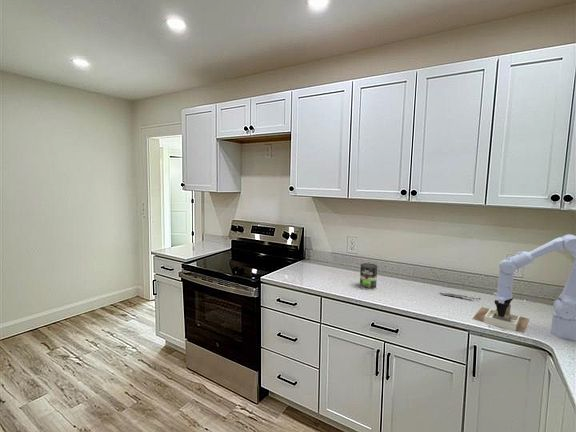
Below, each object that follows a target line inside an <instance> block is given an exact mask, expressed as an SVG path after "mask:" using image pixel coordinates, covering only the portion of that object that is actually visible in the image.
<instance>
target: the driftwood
mask: <svg viewBox="0 0 576 432" xmlns="http://www.w3.org/2000/svg"><path fill="white" fill-rule="evenodd" d="M443 295H444V296H448V297H449V296H451V297H454V298H461V299H464V300H469V301H472V302H474V300H478V299H479V301H481V297H479V298H476V297H472V296H468V295H462V294H455V293H449V292H447V293H444V292H440V296H443ZM468 298H469V299H468Z"/></svg>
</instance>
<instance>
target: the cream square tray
mask: <svg viewBox="0 0 576 432" xmlns="http://www.w3.org/2000/svg"><path fill="white" fill-rule="evenodd" d="M488 309H489V311H488V312H487V314H486V315H485V318H484V322H483V323H485V324H488V323H489V324H488V325H492V326H496V327H499V326H500V328H502V329H507V330H510V329H511V330H510V331H514V332H517V331H516V329H517V327H518V324H519V322H520V317H521V316H520V315H518V314H513V313H510V319H505V318H501V317H497V316H496V309H494V308H488Z"/></svg>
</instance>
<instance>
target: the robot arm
mask: <svg viewBox="0 0 576 432" xmlns="http://www.w3.org/2000/svg"><path fill="white" fill-rule="evenodd" d="M565 250H566V251H568V252H569V253H570V254H571V255H572V257H573V258H574V260H573V264H572V266H571V269H570V271H569V273H568V277H567V279H566V282H565V285H564V287H563V290H562V292H561V293H560V294H559V295H558V298H557V299H555V300H554V302H553V303H552V304H553V307H554V309H555V311H553V313H552V318H551V328H550V334H551V335H553V336H555V337H557V338H560V339H566V340H570V341H574V342H576V235H575V234H571V233H569V234H565V235H563V236H561V237H560V236H559V237H556V238H554V239H553V240H550V241H548V242H546V243H544V244H542V245H540V246H538V247H536V248H535V249H532V250H531V251H520V250H519V251H518V252H517V254H516V255H513V256H511V257H510V256H508V257H507V258H506V259H503V260H501V261H500V262H499V264H498V267H499V272H498V279H497V287H496V288H497V290H496V292H493V295H494V296H496V297H497V298H498V300H497V299H495V300H494V304H495V306H496V309H497V312H498V316H500V317H504V316H505V312H506V309H507V307H508V306H509V305H511V302H512V301H513V300H514V297H513V290H514V289H513V288H514V280H515V279H514V278H515V277H514V274H515V273H516V270H519V269H522V268H524V267H526V266H528V265H530V264H532V263H534V260H535V259H537V258H539V257H542V256H544V255H546V254H549V253H552V252H554V251H556V252H558V251H559V252H565Z"/></svg>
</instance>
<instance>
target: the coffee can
mask: <svg viewBox="0 0 576 432" xmlns="http://www.w3.org/2000/svg"><path fill="white" fill-rule="evenodd" d="M359 269H360V272H359V274H360V275H359V276H360V277H359V288H361V289H362V290H365V291H366V290H368V291H373V290H374V291H375V290H376V289H377V282H378V281H377V280H378V265H377V264H374V263H370V262H368V263H367V262H365V263H364V262H363V263H360V268H359Z"/></svg>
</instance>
